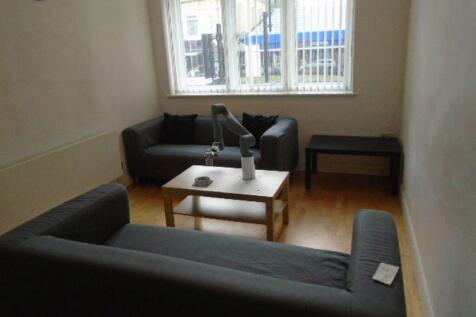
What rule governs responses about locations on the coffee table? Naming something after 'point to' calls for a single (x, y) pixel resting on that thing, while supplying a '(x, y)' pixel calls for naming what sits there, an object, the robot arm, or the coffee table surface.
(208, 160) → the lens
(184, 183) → the coffee table surface
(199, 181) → the mount
